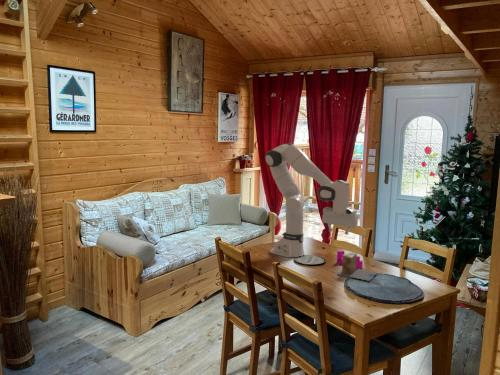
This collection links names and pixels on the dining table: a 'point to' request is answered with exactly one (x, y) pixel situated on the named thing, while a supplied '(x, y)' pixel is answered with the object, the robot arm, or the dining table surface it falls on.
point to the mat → (358, 274)
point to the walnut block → (349, 262)
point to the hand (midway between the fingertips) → (338, 232)
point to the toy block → (340, 259)
